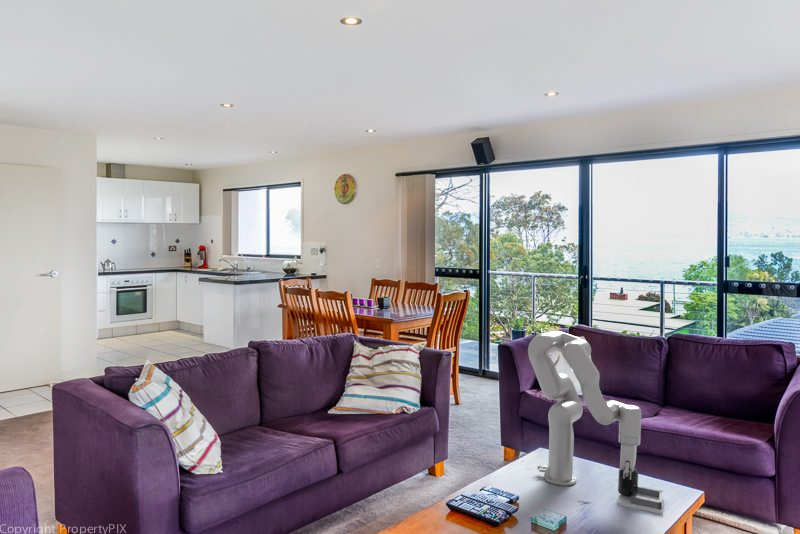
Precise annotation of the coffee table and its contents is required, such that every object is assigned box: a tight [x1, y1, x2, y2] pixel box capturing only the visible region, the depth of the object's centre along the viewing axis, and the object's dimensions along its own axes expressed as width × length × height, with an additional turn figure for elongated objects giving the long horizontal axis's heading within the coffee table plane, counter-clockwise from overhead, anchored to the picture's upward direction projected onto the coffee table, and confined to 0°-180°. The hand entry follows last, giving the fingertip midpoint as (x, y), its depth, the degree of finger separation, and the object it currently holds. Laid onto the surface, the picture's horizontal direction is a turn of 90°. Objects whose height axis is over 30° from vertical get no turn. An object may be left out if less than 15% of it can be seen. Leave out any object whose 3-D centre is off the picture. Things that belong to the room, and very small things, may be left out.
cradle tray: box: [617, 485, 664, 515], centre depth 215 cm, size 15×14×4 cm
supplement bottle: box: [617, 462, 639, 497], centre depth 217 cm, size 7×7×12 cm
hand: (627, 485), depth 217 cm, fingers closed on supplement bottle, 6 cm apart
